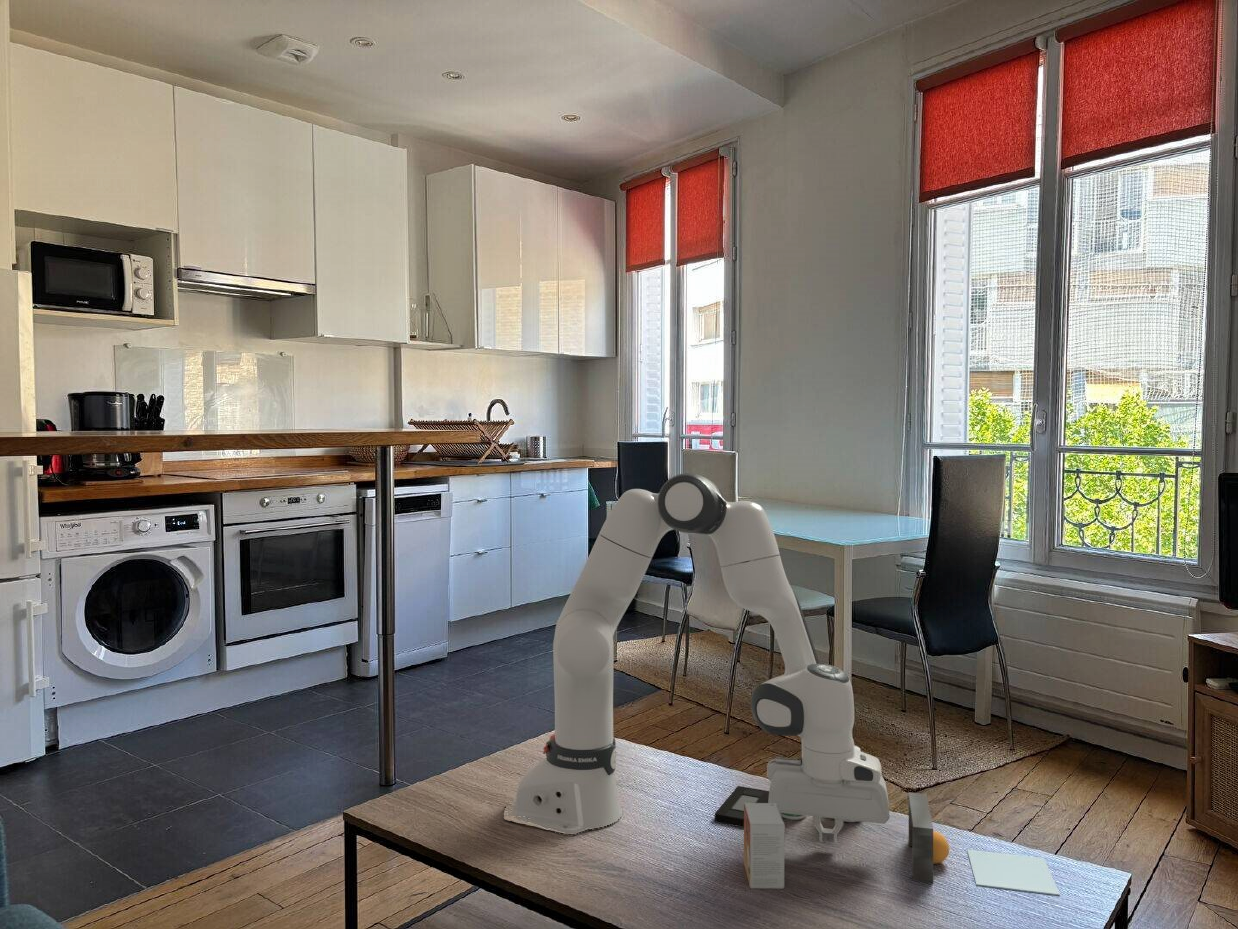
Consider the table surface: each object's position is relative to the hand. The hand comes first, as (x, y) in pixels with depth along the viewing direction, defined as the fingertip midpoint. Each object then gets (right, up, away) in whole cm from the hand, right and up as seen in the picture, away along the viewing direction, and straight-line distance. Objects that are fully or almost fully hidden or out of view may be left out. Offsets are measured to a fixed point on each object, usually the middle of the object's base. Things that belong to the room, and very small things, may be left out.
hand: (828, 841), depth 147 cm
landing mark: (+28, -2, -8) cm, 29 cm away
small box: (-13, -2, -9) cm, 15 cm away
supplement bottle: (-3, -2, +14) cm, 15 cm away
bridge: (+14, -2, -4) cm, 15 cm away
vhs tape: (-12, -2, +17) cm, 20 cm away
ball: (+16, +1, -4) cm, 17 cm away
